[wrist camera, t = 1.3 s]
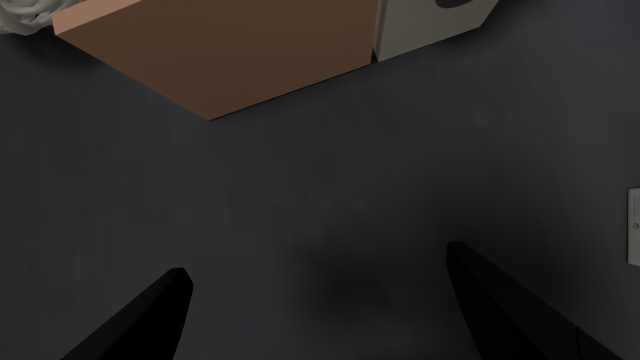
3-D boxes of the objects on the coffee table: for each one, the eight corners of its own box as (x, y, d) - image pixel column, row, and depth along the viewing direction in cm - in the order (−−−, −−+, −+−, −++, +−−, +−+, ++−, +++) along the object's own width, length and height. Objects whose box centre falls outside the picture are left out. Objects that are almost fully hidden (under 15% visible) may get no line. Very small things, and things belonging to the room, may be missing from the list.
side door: (370, 63, 24) (390, -100, 11) (207, 120, 25) (55, 34, 12) (366, 53, 24) (381, -121, 11) (205, 110, 25) (50, 14, 12)
